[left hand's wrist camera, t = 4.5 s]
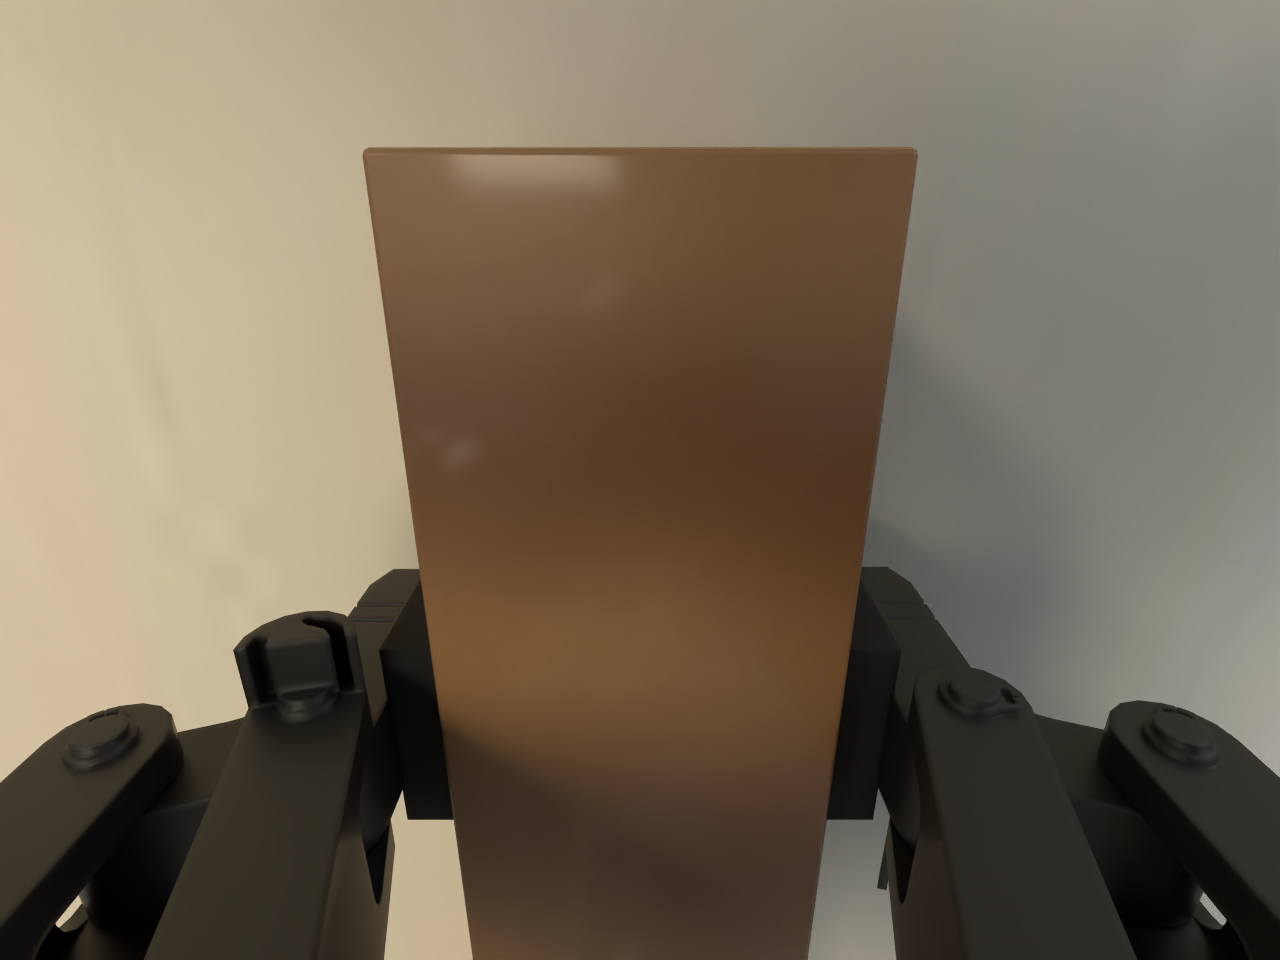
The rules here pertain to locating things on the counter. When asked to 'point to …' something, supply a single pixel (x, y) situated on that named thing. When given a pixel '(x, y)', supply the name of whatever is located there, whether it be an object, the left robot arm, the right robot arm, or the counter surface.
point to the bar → (640, 519)
